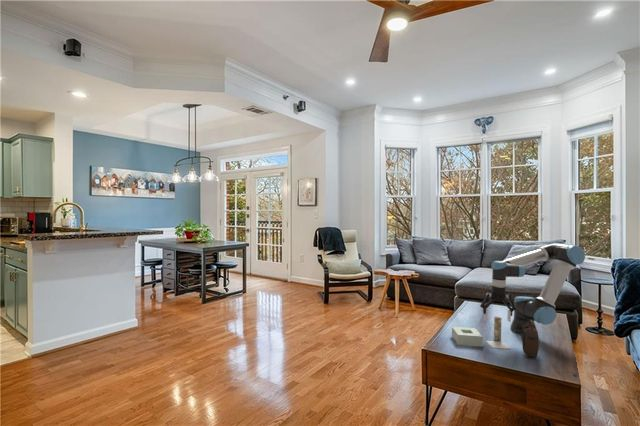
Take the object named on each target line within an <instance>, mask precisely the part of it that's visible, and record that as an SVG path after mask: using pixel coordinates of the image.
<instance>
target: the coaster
mask: <svg viewBox="0 0 640 426" xmlns="http://www.w3.org/2000/svg"><path fill="white" fill-rule="evenodd" d="M485 342H486V343H487V344H488V345H489V347H490V348H492V349H499V350H500V349H501V350H511V348H510V347H509V346H508V345H507V344H506V343H505V342H504V341H496V340H486V341H485Z"/></svg>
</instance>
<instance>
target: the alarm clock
mask: <svg viewBox="0 0 640 426" xmlns="http://www.w3.org/2000/svg"><path fill="white" fill-rule="evenodd" d="M524 328H525V329H524V331H523V334H522V337H521V339H522V342H521V344H522V351H523V354H524V355H525V357H526V359H527V360H528V357H529V356H530V357H534V359H535V360H536V359H537V358H536V357H538V353H539V350H540V344H539V343H540V339H539V333H538V329H537V326H536V324H535V325H534V324H533V321H532V320H530V321H529V323H526V324H525V325H524ZM536 329H537V330H536Z"/></svg>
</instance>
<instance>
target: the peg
mask: <svg viewBox="0 0 640 426" xmlns="http://www.w3.org/2000/svg"><path fill="white" fill-rule="evenodd" d="M493 319H494V321H493V341H497V342H502V321H503V320H502V317H500V316H494V317H493Z"/></svg>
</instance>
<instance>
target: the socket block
mask: <svg viewBox="0 0 640 426" xmlns="http://www.w3.org/2000/svg"><path fill="white" fill-rule="evenodd" d="M451 337H452V338H453V340H454V341H456V342H455V343H456V345H457V346H467V345H469V347H483V344H484V343H483V342H484V336H483V335H482V334H481V333H480V331H479V330H478V329H476V328H474V327H464V326H463V327H462V326H461V327H460V326H452V327H451Z"/></svg>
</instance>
